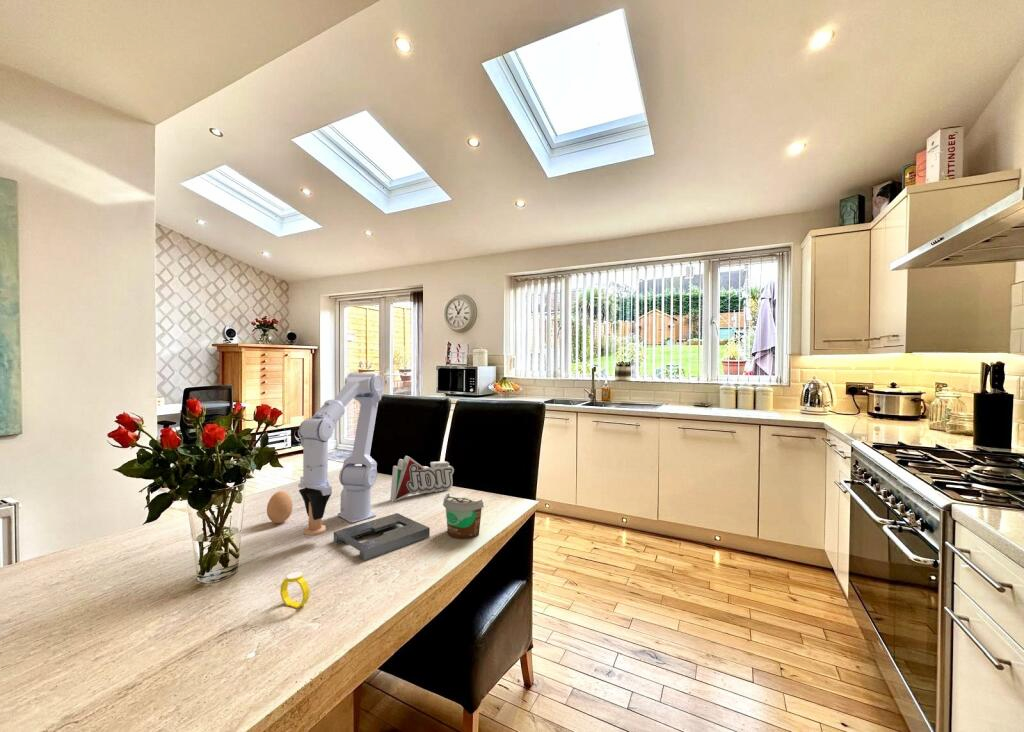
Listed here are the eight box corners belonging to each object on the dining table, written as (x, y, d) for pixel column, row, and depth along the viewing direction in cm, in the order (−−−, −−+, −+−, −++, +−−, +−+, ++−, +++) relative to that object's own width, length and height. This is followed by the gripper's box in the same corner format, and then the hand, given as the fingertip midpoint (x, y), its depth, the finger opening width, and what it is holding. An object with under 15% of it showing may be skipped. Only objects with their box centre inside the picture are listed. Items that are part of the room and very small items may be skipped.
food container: (433, 535, 113) (433, 498, 113) (447, 527, 118) (447, 492, 118) (471, 544, 107) (471, 506, 107) (483, 536, 112) (483, 499, 112)
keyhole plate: (333, 541, 108) (333, 531, 108) (396, 521, 122) (396, 513, 122) (363, 561, 97) (364, 550, 97) (429, 536, 111) (429, 527, 111)
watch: (277, 607, 79) (276, 576, 79) (289, 600, 82) (288, 569, 82) (301, 612, 77) (300, 580, 77) (313, 604, 80) (311, 573, 80)
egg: (293, 524, 119) (293, 492, 119) (266, 528, 116) (267, 496, 116) (291, 517, 125) (291, 487, 125) (266, 521, 121) (266, 490, 121)
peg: (301, 532, 106) (301, 501, 106) (320, 526, 110) (320, 497, 110) (309, 537, 103) (309, 506, 103) (329, 532, 107) (329, 501, 107)
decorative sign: (447, 493, 157) (451, 454, 157) (451, 495, 154) (455, 455, 155) (389, 500, 142) (394, 456, 143) (392, 502, 140) (397, 457, 141)
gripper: (288, 462, 108) (288, 513, 108) (311, 472, 99) (310, 529, 99) (315, 458, 114) (315, 507, 114) (340, 467, 104) (339, 520, 104)
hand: (315, 516), depth 106 cm, fingers closed on peg, 3 cm apart
